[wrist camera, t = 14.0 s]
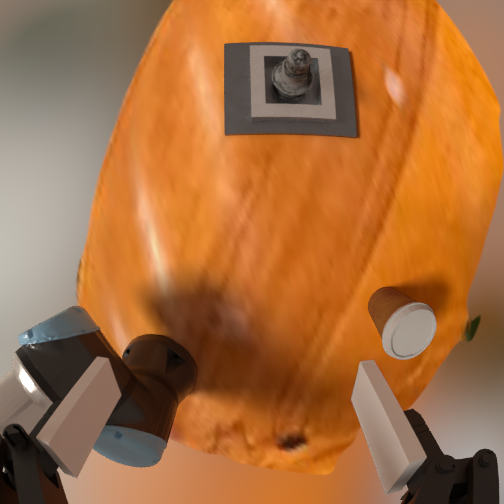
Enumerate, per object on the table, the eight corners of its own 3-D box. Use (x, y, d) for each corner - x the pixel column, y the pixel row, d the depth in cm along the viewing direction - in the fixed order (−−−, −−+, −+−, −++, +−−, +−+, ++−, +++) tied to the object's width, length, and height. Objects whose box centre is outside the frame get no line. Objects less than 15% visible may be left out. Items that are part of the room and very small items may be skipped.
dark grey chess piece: (262, 87, 36) (264, 54, 25) (285, 62, 35) (295, 24, 24) (294, 109, 37) (308, 83, 26) (316, 84, 36) (337, 52, 24)
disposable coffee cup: (350, 316, 46) (373, 354, 35) (377, 269, 44) (410, 297, 33) (387, 332, 47) (414, 367, 36) (413, 289, 45) (448, 317, 33)
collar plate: (225, 135, 39) (222, 131, 36) (225, 46, 35) (222, 36, 32) (354, 137, 39) (362, 134, 36) (346, 51, 35) (352, 42, 32)
